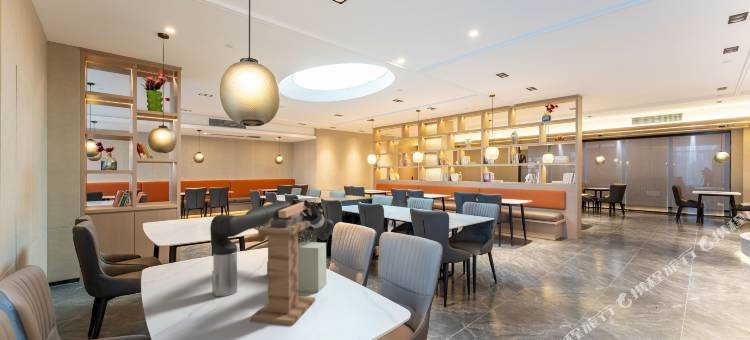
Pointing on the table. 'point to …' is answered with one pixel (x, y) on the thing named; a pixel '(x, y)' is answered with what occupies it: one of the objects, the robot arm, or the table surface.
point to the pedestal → (311, 266)
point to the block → (291, 210)
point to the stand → (283, 273)
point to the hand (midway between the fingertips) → (301, 202)
